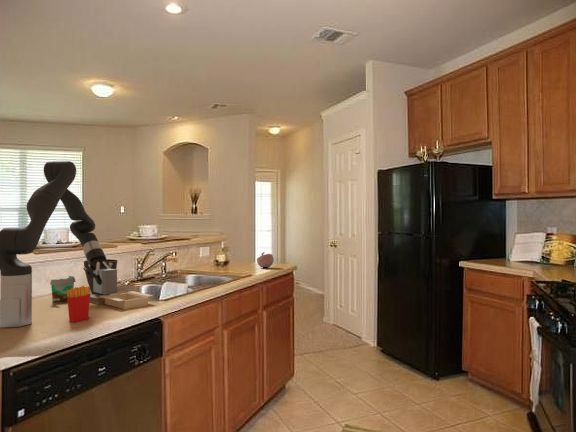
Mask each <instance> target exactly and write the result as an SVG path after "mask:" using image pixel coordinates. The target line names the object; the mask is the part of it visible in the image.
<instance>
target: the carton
mask: <svg viewBox="0 0 576 432" xmlns="http://www.w3.org/2000/svg"><path fill="white" fill-rule="evenodd" d="M99 297H102V298H105V303H104V304H105V305H108V306H111V307H115V308H119V309H123V310H126V309H127V310H128V309H133V308H139V307H145V306H149V298H152V297H154V295H152V294H148V293H143V292H138V291H134V290H131V291H128V292H124V293H119V294H115V295H108V296H106V295H103V296H99Z"/></svg>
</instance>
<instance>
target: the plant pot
mask: <svg viewBox="0 0 576 432" xmlns="http://www.w3.org/2000/svg"><path fill="white" fill-rule="evenodd" d="M106 260H107V261H108V262H109V263H113V262H115V264H116V269H117V266H118V259H111V258H110V259H107V258H106ZM85 264H88V265H89V263H88V261H87V260H83V267H84V266H85ZM109 267H110V266H109ZM110 269H111V268H110ZM91 270H92V271H93V269H91ZM84 272H85V271H84ZM85 276H86V281H87V285H88V286H89V291H90V292H91V295H92V294H100V293H97V292H93V277H92V278H90V277H89V276H88V275H87V273H86V272H85Z"/></svg>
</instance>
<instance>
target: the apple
mask: <svg viewBox="0 0 576 432" xmlns="http://www.w3.org/2000/svg"><path fill="white" fill-rule="evenodd" d="M274 258H275V257H274V255H273V254H272V253H265V251H263V252H261V255H259V256H258V257H257V258H256V263H257V265H258V266H259V267H260V268H262V267H269V268H270V267H272V266H273V264H274V262H275V261H274V260H275V259H274Z"/></svg>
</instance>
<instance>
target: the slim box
mask: <svg viewBox="0 0 576 432" xmlns="http://www.w3.org/2000/svg"><path fill="white" fill-rule="evenodd" d="M93 272H94V270H93ZM98 273H99V275H100V278H101V280H102V283H101V285H99V284H97V282H96V280H95V278H93V292H97V293H101V294H104V295H107V294H114V293H118V269H117V268H116V269H107V268H106V269H98Z"/></svg>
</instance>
